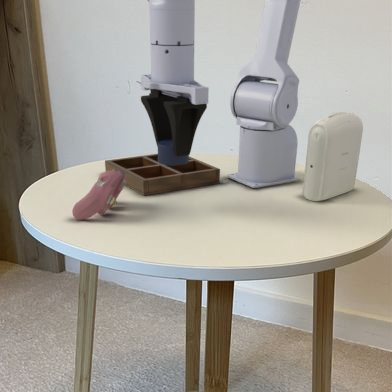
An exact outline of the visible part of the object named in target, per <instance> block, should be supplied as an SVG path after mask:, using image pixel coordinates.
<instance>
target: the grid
mask: <svg viewBox="0 0 392 392" xmlns="http://www.w3.org/2000/svg"><path fill="white" fill-rule="evenodd" d="M104 167H105V172H106V171H112V170H113V169H114V170H115V171H116V172H118V171H119V172H122V173H124V175H126V176H127V181H126V183H125V186H126V187H127V188H129V189H131V190H133V191H135V192H137V193H138V194H140V195H142V196H144V197H145V196H151V195H157V194H163V193H168V192H175V191H182V190H186V189H195V188H199V187H205V186H210V185H217V184H218V185H219V184H220V183H221V182H220V181H221V169H220V168H218V167H217V166H214V165H212V164H209V163H206V162H204V161H202V160H199V159H197V158H194V157H192V156H189V162H188V163H187V164H183V165H164V164H161V163H159V162H158V153H151V154H145V155H135V156H128V157H121V158H114V159H113V158H112V159H107V160H104Z"/></svg>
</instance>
